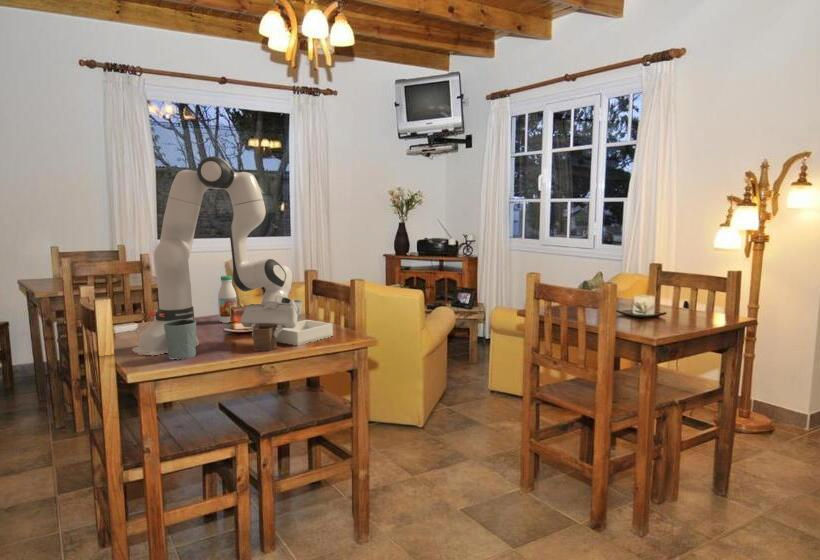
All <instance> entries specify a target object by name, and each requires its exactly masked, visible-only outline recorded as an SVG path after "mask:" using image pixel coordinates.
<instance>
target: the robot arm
mask: <svg viewBox="0 0 820 560" xmlns="http://www.w3.org/2000/svg"><path fill="white" fill-rule="evenodd" d="M196 167H197V169H196V170H191V169H183V170H180V171H178V172H177V173H176V175H175V177H174V179H173V182H172V184H171V187H170V190H169V192H168V198H167V200H166V205H165V211H164V215H163V219H162V226H161V233H160V238H159V243H158V244H157V245H156V247H155V249H154V251H153V261H154V271H155V277H156V282H157V283H156V285H157V293H158V305H159V306H158V307H159V308H158V309H157V310H156V311H155V310H150V311H148V315H149V317H155V318H154V320H153V322H151V323H150V324H149V325H148V326H147V327H146V328H145V329H144V330H143V331H142V332H141V333H140V335H139V338H138V339H139V340H138V346H136V347H133V348H132V350H131V352H132V351H134V352H136V353H141V354H150V355H151V354H152V355H154V354H161V353H167V352H168V346H167V340H166V335H165V329H164V323H166V322H168V321H173V320H180V319H191V320H195V311H194V306H193V299H192V285H191V276H190V274H191V273H190V267H189V259H190V257H191V253H192V252H191V251H192V246H193V242H194V238H195V233H196V228H197V223H198V218H199V215H200V210H201V205H202V202H203V198H204V194H205V192H207V191H208V190H224V191H226V192H227V193H228V195H229V198H230V201H231V206H232V209H233V218H232V222H231V223H230V226H229V240H230V250H231V259H232V282H233V283H234V285H235V286H236V288H238V289H239V290H240V291H243V292H249V291H252V290H255V289H261V288H264V289H265V292H264V294H263V296H262V300H261V302H260V303H250V304H248V305H247V306H246V307H245V308H244V311H243V313H242V316H241V318H240V323H241V325H242V326H243V327H244V328H251V330H252V332H251V336H252V337H253V329H255V328H256V327H258V326H276V328H277V329H276V330H275V331H273V332H272V337H273V338H277V336H278V334H279V333H280V332H281V331H282V329H283V328H294V327H296V325H297V322H298V318H299V317H298V315H297V311H298V309H297V306H296V304H295V302H294V300H295V299H292V298H289V294H290V293H291V288H292V285H293V271H292V270H291V268H289V267H288V266H287V265H285V264H280V263H279V262H278V261H276V260H275V259H272V258H269V259H268V258H267V259H262V260H258V261H254V262H249V259H248V257H249V256H248V248H247V238H248V236H249V234H250V233H251V232H252V231H254V230H255V229H256V228H258V227H259V226H260V225H261V224H262V223H263V222H264V220H265V217H266V206H265V205H266V204H265V202H264V197H263V194H262V191H261V188H260V185H259V183H258V181H257V179H256V176H255V175H253V173H251V172H248V171H241V172H235V171H234V169H233V167H232V165H231V164H230V163H229V162H228V161H227V160H226V159H223V158H220V157H217V156H208V157H204V158H203V159H202V160H201V161H199V163H198V164H197V166H196ZM195 343H196V347H198V346H199V344H200V342H199V339H198V337H197V335H196V342H195Z"/></svg>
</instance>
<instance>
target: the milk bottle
mask: <svg viewBox="0 0 820 560" xmlns="http://www.w3.org/2000/svg"><path fill="white" fill-rule="evenodd" d="M220 282H221V286H220V288H219V291H218V294H217V303H218V304H217V306H218V320H219V323H221V322H222V324H228V323H229V322H230V311H231V308H232V307H237V308H238V301H237V292H236V289H235V288H234V286H233V283H232V282H233V275H222V276H220Z"/></svg>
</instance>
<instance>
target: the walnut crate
mask: <svg viewBox="0 0 820 560" xmlns="http://www.w3.org/2000/svg"><path fill="white" fill-rule="evenodd" d="M275 330H276V326H258V327H256V328H255V329H253V331H252V332H253V336H252V339H253V351H265V350H270V351H272V350H273V348H274V349H275V348H277V344H278V342H276V338H273V337H272V332H273V331H275Z"/></svg>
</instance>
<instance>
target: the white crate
mask: <svg viewBox="0 0 820 560" xmlns="http://www.w3.org/2000/svg"><path fill="white" fill-rule="evenodd" d="M333 326H334V325H333V323H331V322H326V321H325V322H323V321H319V320H318V321H317V320H312V319H304V320H299V321H297V325H296V327H294V328H283V329H282V331H281V332H280V333H279V334H278V336H277V338H276V343H282V344H286V343H287V345H291V344H292V346H296V345H297V347H299V346H302V344H303V345H306V343H307V344H310V343H309V342H311V343H315V342H317V340H318V341H321V340H320V339H322V340H325V339H328V337H329V338H332V337H331V336H333V337H334V329H333V328H334V327H333ZM276 329H277V328H276ZM324 338H325V339H324ZM298 345H299V346H298Z"/></svg>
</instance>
